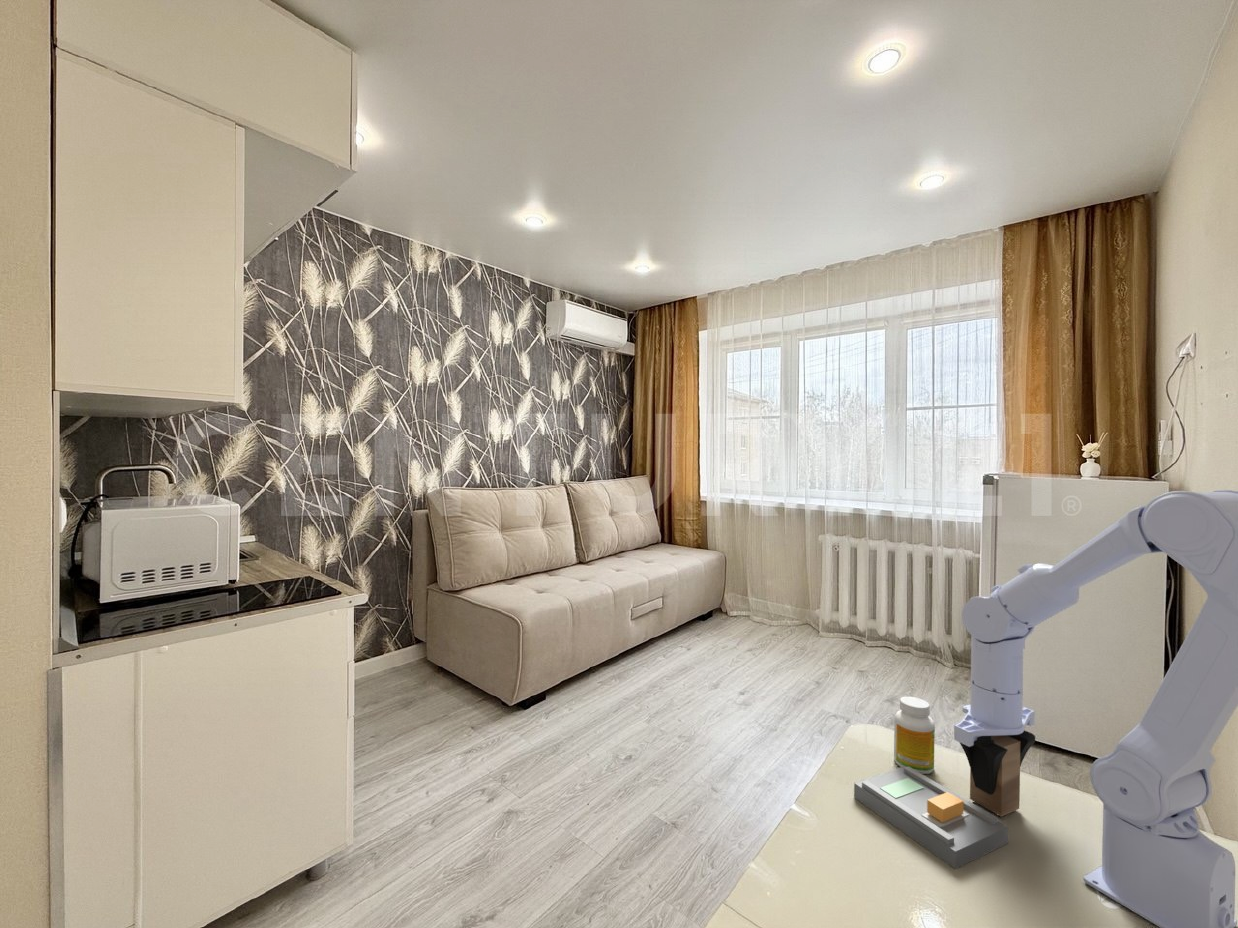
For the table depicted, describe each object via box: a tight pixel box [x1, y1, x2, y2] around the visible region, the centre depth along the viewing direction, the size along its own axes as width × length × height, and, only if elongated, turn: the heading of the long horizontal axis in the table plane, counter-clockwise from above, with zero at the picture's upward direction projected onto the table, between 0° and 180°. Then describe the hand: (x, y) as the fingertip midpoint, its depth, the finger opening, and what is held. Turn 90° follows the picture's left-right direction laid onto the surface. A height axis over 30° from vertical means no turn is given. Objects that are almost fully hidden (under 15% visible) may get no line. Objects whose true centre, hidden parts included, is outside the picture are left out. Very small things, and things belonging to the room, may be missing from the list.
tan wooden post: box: [969, 735, 1021, 817], centre depth 72 cm, size 4×4×9 cm
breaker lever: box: [927, 792, 964, 822], centre depth 66 cm, size 2×4×2 cm, turn 115°
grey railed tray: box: [853, 766, 1009, 870], centre depth 69 cm, size 14×10×3 cm
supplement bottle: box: [893, 696, 936, 775], centre depth 81 cm, size 5×5×10 cm
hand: (994, 785), depth 72 cm, fingers closed on tan wooden post, 4 cm apart
